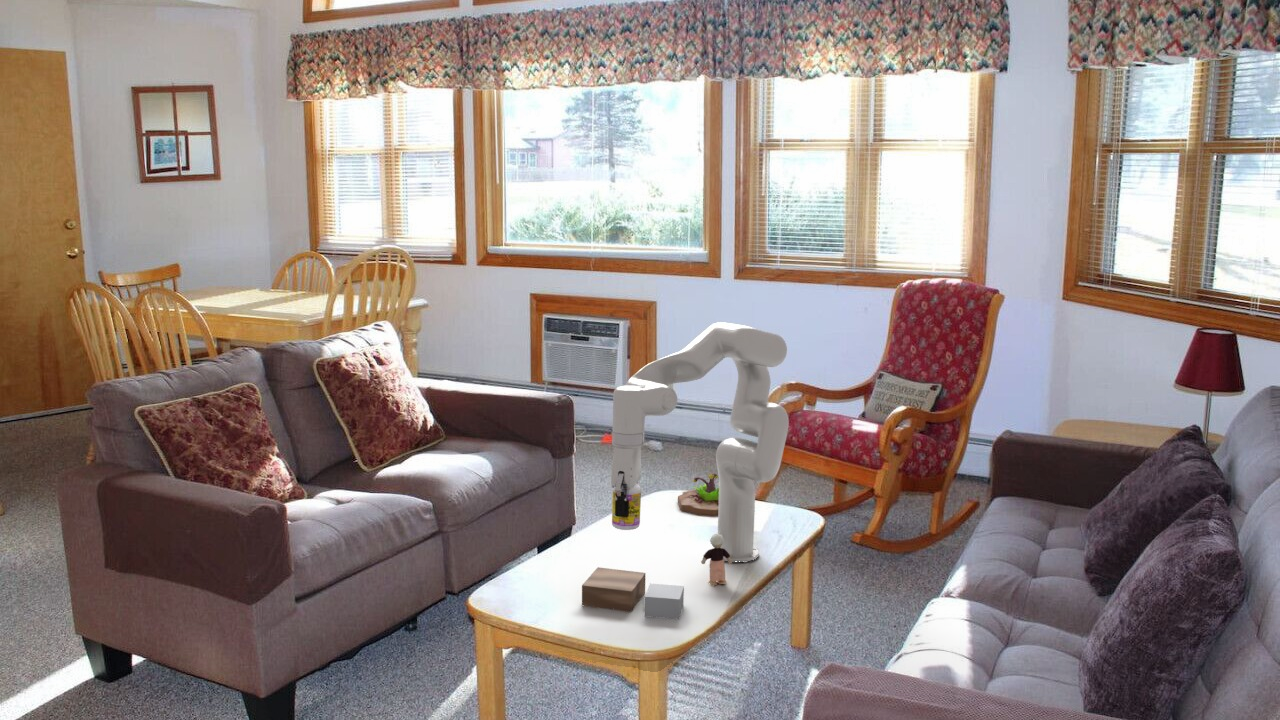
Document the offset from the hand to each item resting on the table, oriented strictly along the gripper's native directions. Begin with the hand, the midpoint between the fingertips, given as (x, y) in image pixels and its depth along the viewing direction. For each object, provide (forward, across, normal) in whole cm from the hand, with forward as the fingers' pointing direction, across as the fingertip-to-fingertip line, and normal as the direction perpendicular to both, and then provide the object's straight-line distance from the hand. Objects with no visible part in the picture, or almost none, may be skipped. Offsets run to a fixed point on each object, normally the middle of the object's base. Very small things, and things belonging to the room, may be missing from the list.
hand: (626, 511), depth 251 cm
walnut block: (+20, +4, -1) cm, 21 cm away
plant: (+20, -74, +5) cm, 77 cm away
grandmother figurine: (+20, -13, +20) cm, 31 cm away
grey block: (+21, +7, +12) cm, 25 cm away
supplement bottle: (+4, 0, 0) cm, 4 cm away
